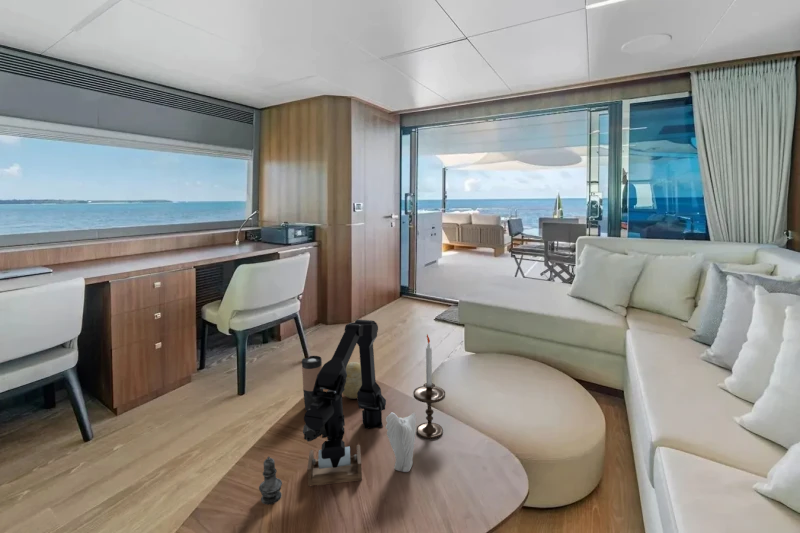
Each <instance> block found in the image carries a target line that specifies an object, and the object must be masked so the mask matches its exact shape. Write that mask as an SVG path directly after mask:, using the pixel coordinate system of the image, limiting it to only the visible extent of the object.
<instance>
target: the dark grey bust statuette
mask: <svg viewBox="0 0 800 533" xmlns="http://www.w3.org/2000/svg"><path fill="white" fill-rule="evenodd" d="M275 464H276V463H275V459H274V458H272V457H271V456H269V455H268V456H267V458H266V459H264V461H263V472H262V476H263V479H264V481H262V482H261V483H260V484H259V486H258V490H259V492H260V493H261V499H260V500H261V503H262V504H263V505H267V506H268V505H273V504H276V503H277V502H279V501H280V500H281V498H282V492H281V489H282V488H281V487H282V485H283V481H282V480H281V478H278V477H277V472H278V471H277V469H276V465H275Z"/></svg>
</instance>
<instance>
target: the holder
mask: <svg viewBox="0 0 800 533" xmlns="http://www.w3.org/2000/svg"><path fill="white" fill-rule="evenodd" d="M314 457H315V456H314V449H309V454H308V460H307V461H308V462H307V469H306V472H307V486H308V487H311V486H310V485H317V486H323V485H331V484H339V483H340V484H341V483H348V482H357V481H362V480H363V473H362V470H363V468H362V458H361V457H362V455H361V444H356V454H353V455H351V454H350V463H351V465H348V466H340V467H336V468H333V467H331V468H323V469H319V464H318V458H314Z"/></svg>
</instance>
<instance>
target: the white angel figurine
mask: <svg viewBox="0 0 800 533" xmlns="http://www.w3.org/2000/svg"><path fill="white" fill-rule="evenodd" d="M385 421H386V425H385V429H386V430H387V431H386V436H387V437H388V442H389V444H390V447H391V449H392V451H393V453H394V456H395V464H394V466H393V467H394V468H393V469H394V470H396V471H398V472H403V473H408V472H410V470H411V468H412V466H413V464H414V463H413V456H414V447H415V439H416V438H415V437H416V431H417V426H416V424H417V423H416V422H417V418H416V412H415V411H414V412H412V413H411V414H410V415H409V416H404V417H398V415H397V414H396V413H394V412H392V411H391V412H390V413H389V414H388V415H386V417H385Z"/></svg>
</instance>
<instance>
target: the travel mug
mask: <svg viewBox="0 0 800 533" xmlns="http://www.w3.org/2000/svg"><path fill="white" fill-rule="evenodd" d="M322 367H323V362H322V357H321V356H320V355H319V356H318V355H310V356H308V357H307V358H305V357H303V358H302V359H301V371H302V390H303V392H302V393H303V401H304V403H303V404H304V410H305V411H306V412H307V411H308V410H309V409H310V405H311V404H312V403H314V402H315V401H316V398H313V397H311V396H312V392H313V389H314V385H315V381H316V378H317V375H318V373H319V371H320V370H321V368H322ZM319 391H324V389H320V390H319Z"/></svg>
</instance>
